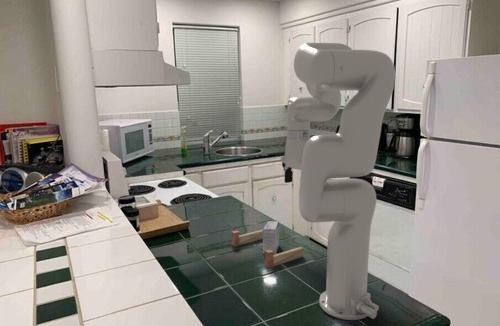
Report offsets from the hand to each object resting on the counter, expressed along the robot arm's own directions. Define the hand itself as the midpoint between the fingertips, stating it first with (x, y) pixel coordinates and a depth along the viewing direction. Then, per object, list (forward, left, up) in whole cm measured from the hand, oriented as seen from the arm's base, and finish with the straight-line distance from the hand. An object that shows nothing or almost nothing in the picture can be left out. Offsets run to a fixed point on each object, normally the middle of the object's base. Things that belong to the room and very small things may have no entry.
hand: (297, 184), depth 125 cm
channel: (0, +13, -20) cm, 24 cm away
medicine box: (0, +12, -21) cm, 24 cm away
